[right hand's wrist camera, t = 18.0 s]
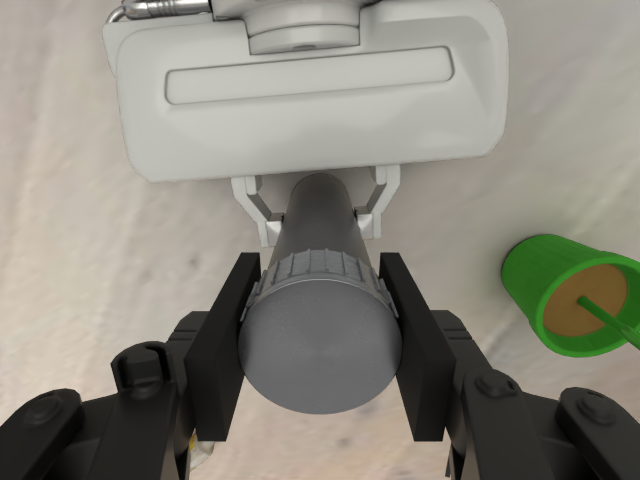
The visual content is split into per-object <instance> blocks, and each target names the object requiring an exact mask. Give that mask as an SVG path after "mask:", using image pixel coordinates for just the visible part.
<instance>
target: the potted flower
mask: <svg viewBox="0 0 640 480" xmlns="http://www.w3.org/2000/svg"><path fill="white" fill-rule="evenodd" d="M502 280H503V284H504V286H505V288H506V290H507V291H508V293H509V294H510V295H511V297H512V298H513V299H514V301H515V302H516V303H517V305H518V306H519V307H520V309H521V310H522V311H523V313H524V314H525V315H526V317H527V318H528V320H529V324H530V325H531V327H532V329H533V331H534V332H535V333H536V335H537V336H538V337H539V339H540V340H541V341H542V342H543V343H544V344H545V345H546V347H547V348H549V349H551V350H552V351H554V352H555V353H558V354H561V355H564V356H569V357H591V356H597V355H600V354H604V353H607V352H610V351H612V350H614V349H616V348H618V347H620V346H622V345H623V344H625V343H626V342H630V343H631V344H632V345H634V346H635V347H636V348H637V349H639V350H640V262H637V261H635V260H632V259H630V258H627V257H624V256H621V255H619V254H616V253H611V252H606V251H599V250H596V249H593V248H590V247H588V246H585V245H582V244H579V243H577V242H574V241H571V240H568V239H566V238H563V237H560V236H556V235H540V236H535V237H532V238H529V239H527V240H525V241H523V242H522V243H520V244H519V245H518V246H516V247H515V248H514V249H513V250H512V251H511V252H510V254H509V255H508V257H507V258H506V260H505V262H504V265H503V269H502Z"/></svg>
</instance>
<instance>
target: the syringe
mask: <svg viewBox="0 0 640 480" xmlns="http://www.w3.org/2000/svg"><path fill="white" fill-rule="evenodd" d="M214 443H215V441H198V440H197V435H196V434H195V435H194V436H192V437H191V439H190V441H189V446H190V452H191V462H190V471H192V470H193V469H195V468H196V467H197V466H198V465H200V464H201V463H203V462H204V461H205V460H206V459H207V458H208V457H209V456H210V455H211V454H212V452H213V449H214Z"/></svg>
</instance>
